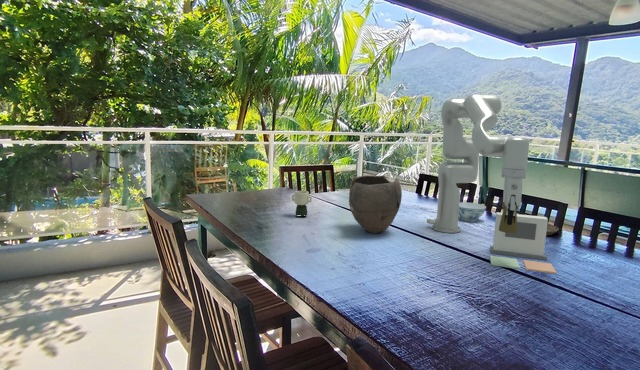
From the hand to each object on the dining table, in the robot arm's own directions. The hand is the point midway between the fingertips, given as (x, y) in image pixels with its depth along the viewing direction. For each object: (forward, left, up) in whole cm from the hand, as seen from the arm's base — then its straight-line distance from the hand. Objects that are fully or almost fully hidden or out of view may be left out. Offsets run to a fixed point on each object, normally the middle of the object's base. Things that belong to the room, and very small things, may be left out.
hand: (508, 224), depth 136 cm
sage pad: (0, 0, -14) cm, 14 cm away
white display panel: (+5, +13, -14) cm, 20 cm away
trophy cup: (-93, +31, -14) cm, 98 cm away
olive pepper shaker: (0, 0, -2) cm, 2 cm away
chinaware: (-12, +63, -14) cm, 65 cm away
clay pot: (-53, +19, -14) cm, 57 cm away
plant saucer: (+16, +54, -15) cm, 58 cm away
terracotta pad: (+11, 0, -14) cm, 18 cm away
